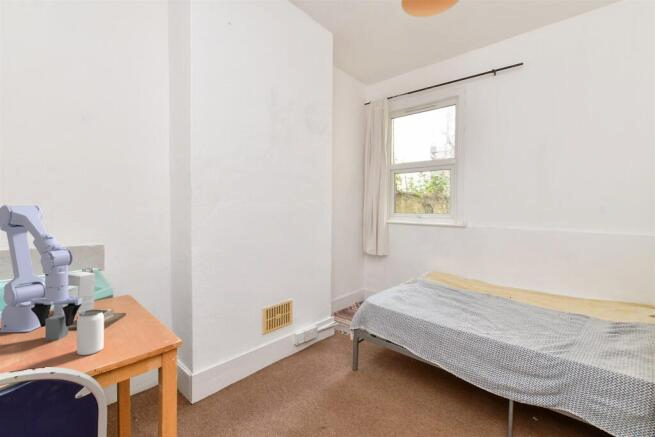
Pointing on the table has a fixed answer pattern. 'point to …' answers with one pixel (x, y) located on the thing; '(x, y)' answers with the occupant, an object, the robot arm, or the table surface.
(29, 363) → the table surface
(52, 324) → the grey peg
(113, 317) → the socket board
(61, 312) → the skincare box
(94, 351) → the can
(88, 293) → the skincare box
